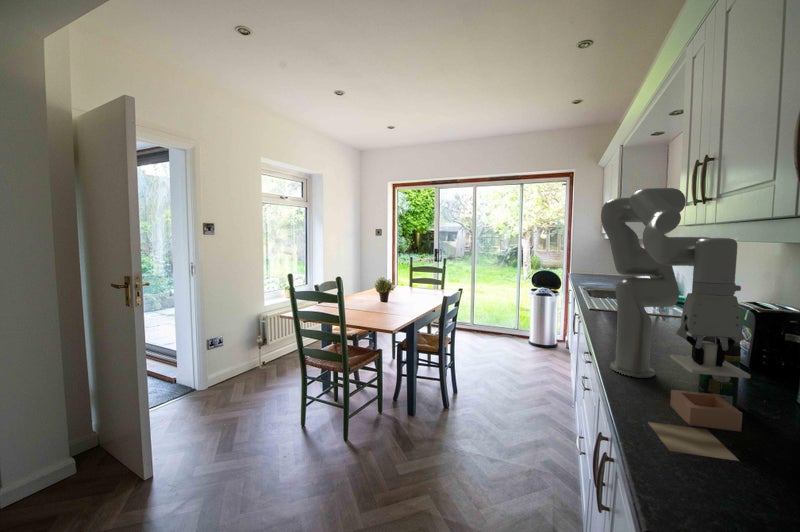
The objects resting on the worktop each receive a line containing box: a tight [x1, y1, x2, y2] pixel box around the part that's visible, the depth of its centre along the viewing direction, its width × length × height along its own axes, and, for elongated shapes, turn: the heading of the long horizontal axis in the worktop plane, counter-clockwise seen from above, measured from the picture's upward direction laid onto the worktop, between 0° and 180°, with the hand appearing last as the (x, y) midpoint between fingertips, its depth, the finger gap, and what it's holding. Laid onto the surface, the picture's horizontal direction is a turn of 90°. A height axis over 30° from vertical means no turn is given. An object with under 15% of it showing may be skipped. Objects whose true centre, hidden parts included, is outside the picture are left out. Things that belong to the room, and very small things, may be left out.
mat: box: [647, 421, 740, 462], centre depth 78 cm, size 12×12×1 cm
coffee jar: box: [697, 336, 743, 409], centre depth 94 cm, size 10×8×19 cm
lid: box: [669, 341, 751, 379], centre depth 85 cm, size 11×11×6 cm
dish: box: [669, 389, 743, 433], centre depth 87 cm, size 10×10×5 cm
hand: (707, 363), depth 85 cm, fingers closed on lid, 3 cm apart
